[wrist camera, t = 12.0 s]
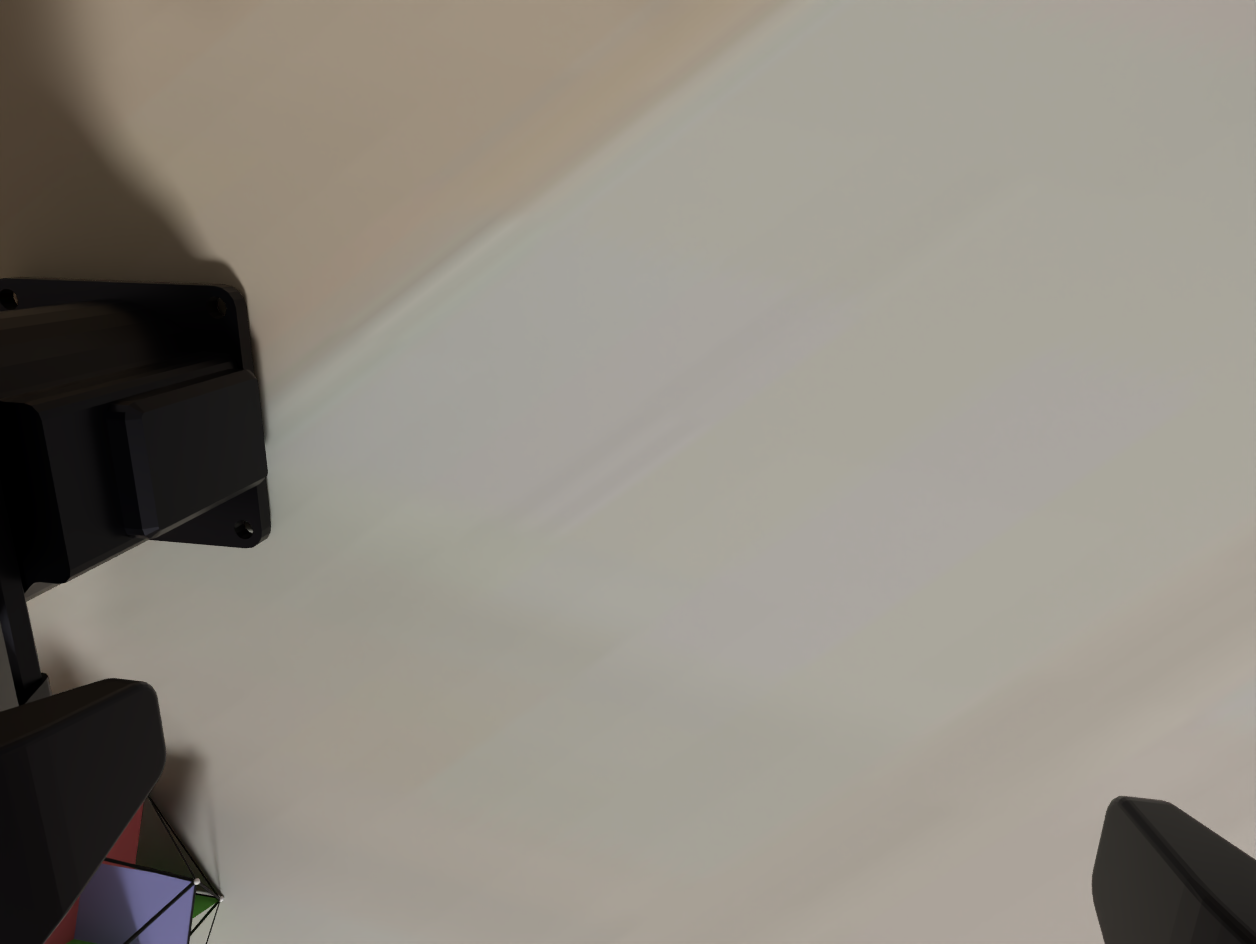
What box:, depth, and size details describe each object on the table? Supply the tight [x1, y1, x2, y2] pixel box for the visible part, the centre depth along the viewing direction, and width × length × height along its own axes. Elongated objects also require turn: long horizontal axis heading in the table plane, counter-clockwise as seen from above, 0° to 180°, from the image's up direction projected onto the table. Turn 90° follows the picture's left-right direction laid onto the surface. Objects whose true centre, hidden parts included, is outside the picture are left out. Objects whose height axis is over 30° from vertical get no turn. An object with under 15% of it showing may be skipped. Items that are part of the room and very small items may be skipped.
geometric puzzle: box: [44, 795, 224, 944], centre depth 23 cm, size 7×7×8 cm
